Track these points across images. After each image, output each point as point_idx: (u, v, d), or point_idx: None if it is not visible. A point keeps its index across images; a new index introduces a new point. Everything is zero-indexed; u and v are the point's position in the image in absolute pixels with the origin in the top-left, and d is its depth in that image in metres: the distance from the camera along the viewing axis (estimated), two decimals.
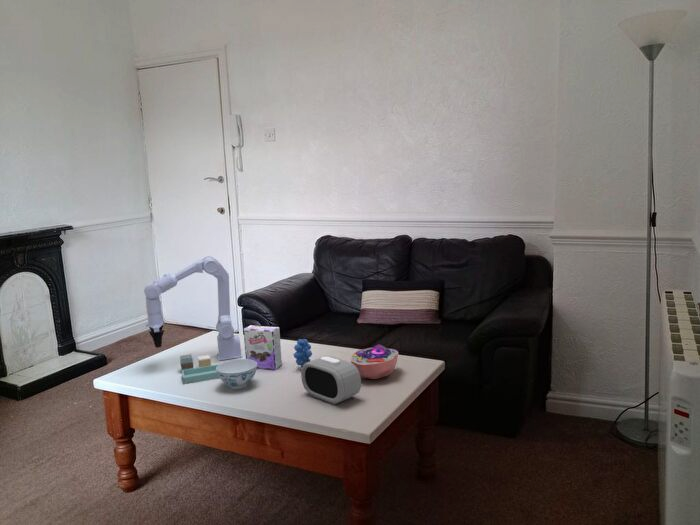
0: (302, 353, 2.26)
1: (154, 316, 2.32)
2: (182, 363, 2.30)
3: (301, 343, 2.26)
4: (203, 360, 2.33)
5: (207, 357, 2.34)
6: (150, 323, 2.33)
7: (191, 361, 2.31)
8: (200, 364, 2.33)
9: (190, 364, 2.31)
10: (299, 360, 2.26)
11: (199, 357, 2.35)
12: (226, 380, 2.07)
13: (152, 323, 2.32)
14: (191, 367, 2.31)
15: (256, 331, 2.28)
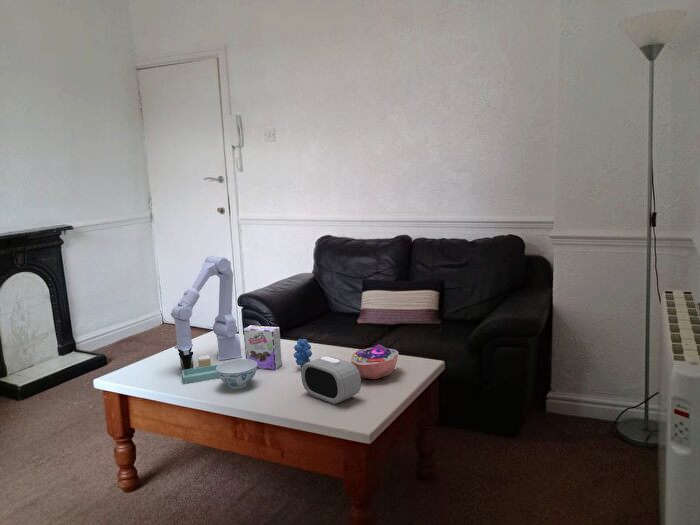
0: (302, 353, 2.26)
1: (183, 338, 2.28)
2: (182, 363, 2.30)
3: (301, 343, 2.26)
4: (203, 360, 2.33)
5: (207, 357, 2.34)
6: (179, 345, 2.29)
7: (191, 361, 2.31)
8: (200, 364, 2.33)
9: None
10: (299, 360, 2.26)
11: (199, 357, 2.35)
12: (226, 380, 2.07)
13: (181, 345, 2.29)
14: (191, 367, 2.31)
15: (256, 331, 2.28)
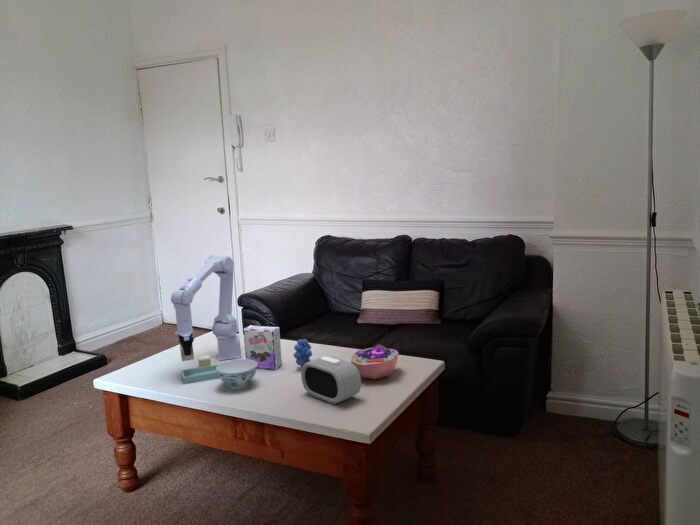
0: (302, 353, 2.26)
1: (184, 324, 2.22)
2: (182, 350, 2.23)
3: (301, 343, 2.26)
4: (203, 360, 2.33)
5: (207, 357, 2.34)
6: (179, 331, 2.22)
7: (191, 348, 2.24)
8: (200, 364, 2.33)
9: None
10: (299, 360, 2.26)
11: (199, 357, 2.35)
12: (226, 380, 2.07)
13: (182, 331, 2.22)
14: (191, 355, 2.25)
15: (256, 331, 2.28)
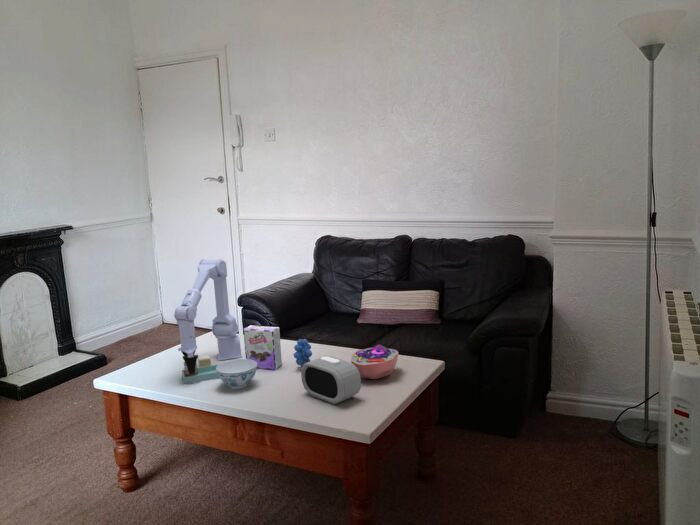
0: (302, 353, 2.26)
1: (188, 340, 2.18)
2: (186, 369, 2.20)
3: (301, 343, 2.26)
4: (203, 360, 2.33)
5: (207, 357, 2.34)
6: (183, 347, 2.19)
7: (196, 367, 2.21)
8: (200, 364, 2.33)
9: None
10: (299, 360, 2.26)
11: (199, 357, 2.35)
12: (226, 380, 2.07)
13: (185, 347, 2.19)
14: (196, 374, 2.22)
15: (256, 331, 2.28)
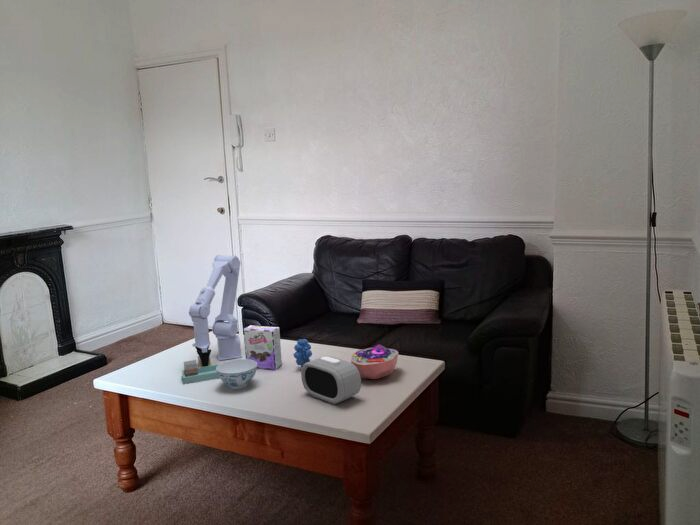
0: (302, 353, 2.26)
1: (201, 336, 2.31)
2: (186, 369, 2.20)
3: (301, 343, 2.26)
4: None
5: None
6: (197, 343, 2.31)
7: (196, 367, 2.21)
8: (200, 364, 2.32)
9: (194, 371, 2.22)
10: (299, 360, 2.26)
11: (199, 357, 2.35)
12: (226, 380, 2.07)
13: (199, 343, 2.31)
14: (196, 374, 2.22)
15: (256, 331, 2.28)
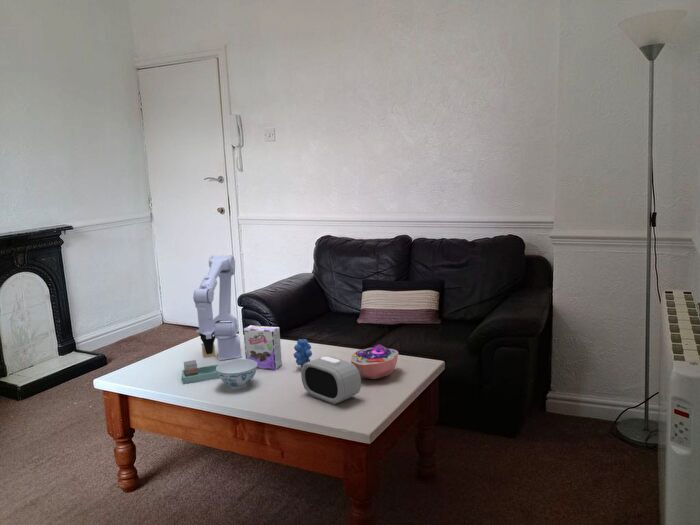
0: (302, 353, 2.26)
1: (206, 322, 2.22)
2: (186, 369, 2.20)
3: (301, 343, 2.26)
4: None
5: None
6: (201, 329, 2.23)
7: (196, 367, 2.21)
8: (204, 351, 2.24)
9: (194, 371, 2.22)
10: (299, 360, 2.26)
11: (203, 344, 2.26)
12: (226, 380, 2.07)
13: (203, 329, 2.23)
14: (196, 374, 2.22)
15: (256, 331, 2.28)
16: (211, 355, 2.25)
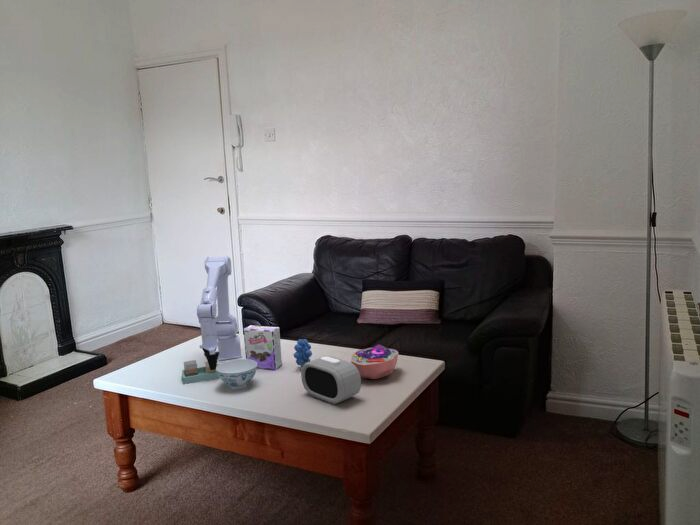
0: (302, 353, 2.26)
1: (209, 337, 2.21)
2: (186, 369, 2.20)
3: (301, 343, 2.26)
4: None
5: None
6: (205, 345, 2.22)
7: (196, 367, 2.21)
8: (208, 370, 2.23)
9: (194, 371, 2.22)
10: (299, 360, 2.26)
11: (206, 363, 2.26)
12: (226, 380, 2.07)
13: (207, 345, 2.21)
14: (196, 374, 2.22)
15: (256, 331, 2.28)
16: None
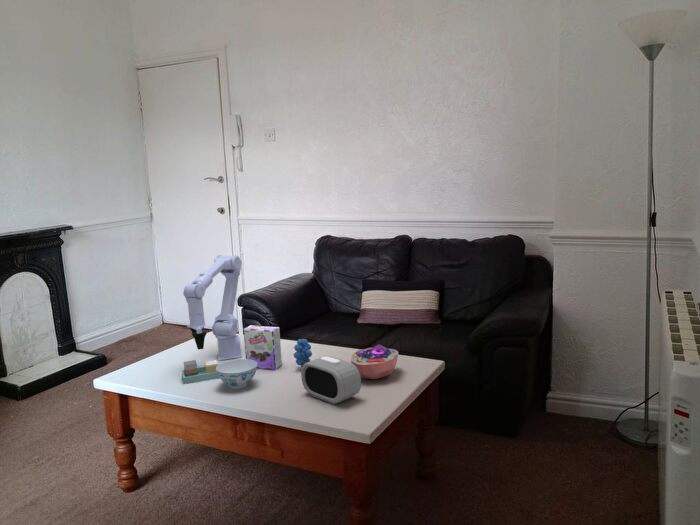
0: (302, 353, 2.26)
1: (196, 317, 2.25)
2: (186, 369, 2.20)
3: (301, 343, 2.26)
4: (210, 366, 2.23)
5: (214, 363, 2.25)
6: (192, 324, 2.26)
7: (196, 367, 2.21)
8: (207, 370, 2.23)
9: (194, 371, 2.22)
10: (299, 360, 2.26)
11: (206, 363, 2.26)
12: (226, 380, 2.07)
13: (194, 324, 2.26)
14: (196, 374, 2.22)
15: (256, 331, 2.28)
16: None
